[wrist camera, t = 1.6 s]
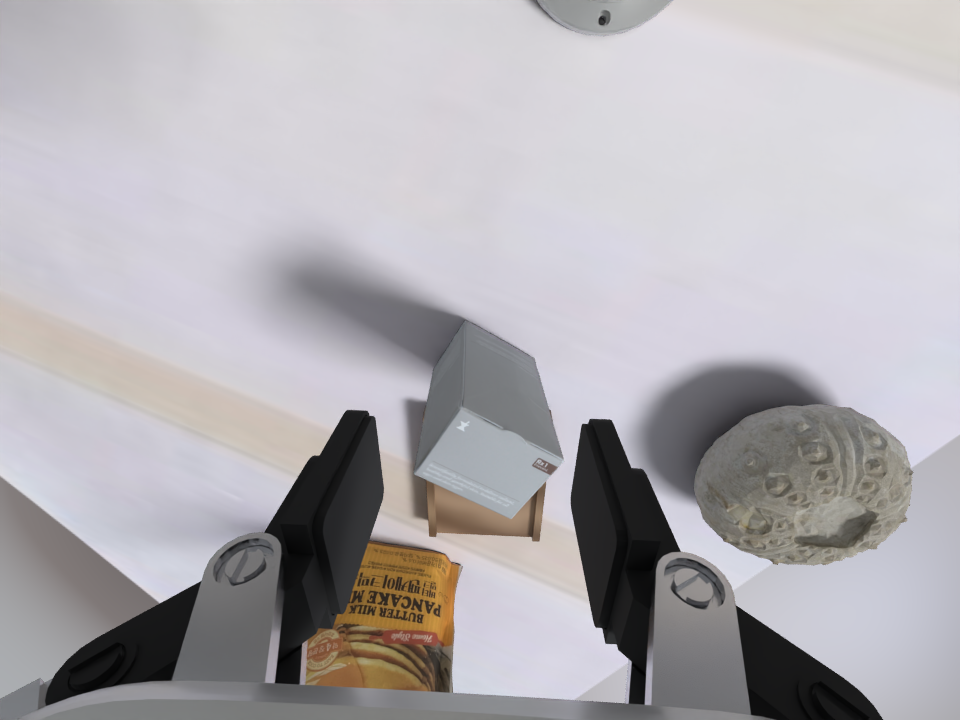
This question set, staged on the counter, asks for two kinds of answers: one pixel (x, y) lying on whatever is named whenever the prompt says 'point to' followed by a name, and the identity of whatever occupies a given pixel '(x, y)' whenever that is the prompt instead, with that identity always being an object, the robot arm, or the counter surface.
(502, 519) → the light brown wooden tray
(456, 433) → the skincare box
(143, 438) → the counter surface
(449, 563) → the pancake mix bag
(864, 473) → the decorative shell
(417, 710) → the robot arm
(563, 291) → the counter surface
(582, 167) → the counter surface
